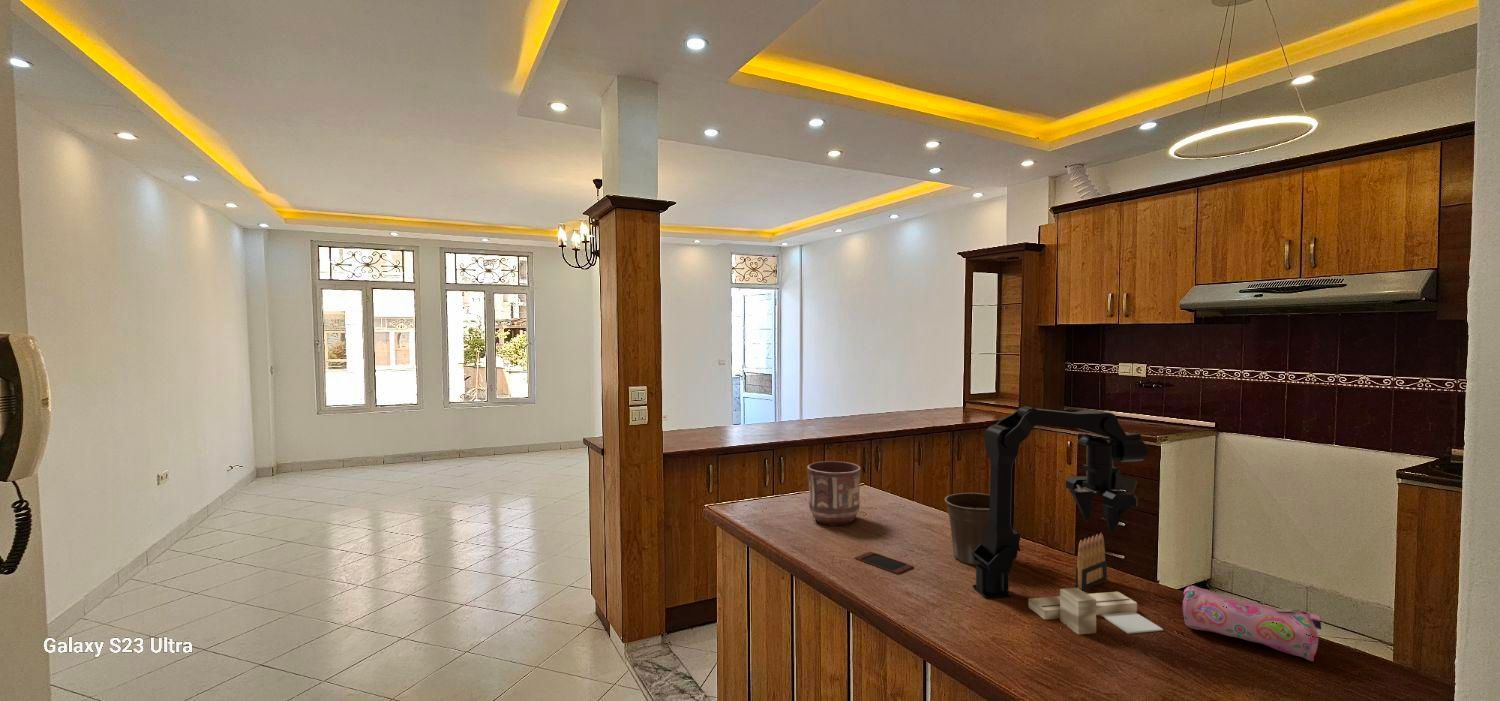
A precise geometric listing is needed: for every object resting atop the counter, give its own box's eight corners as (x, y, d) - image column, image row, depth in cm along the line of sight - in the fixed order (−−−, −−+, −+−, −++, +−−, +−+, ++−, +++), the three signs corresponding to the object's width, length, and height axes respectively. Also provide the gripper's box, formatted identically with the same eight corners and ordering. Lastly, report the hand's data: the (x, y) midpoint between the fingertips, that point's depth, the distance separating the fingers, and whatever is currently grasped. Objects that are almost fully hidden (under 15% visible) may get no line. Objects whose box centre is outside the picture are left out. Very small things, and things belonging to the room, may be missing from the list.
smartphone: (897, 572, 161) (853, 557, 172) (898, 576, 161) (853, 560, 172) (914, 565, 165) (870, 550, 177) (914, 569, 165) (870, 554, 177)
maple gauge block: (1078, 634, 129) (1078, 601, 128) (1060, 621, 135) (1060, 589, 134) (1096, 632, 129) (1096, 599, 129) (1077, 619, 135) (1077, 587, 135)
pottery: (805, 527, 200) (804, 471, 199) (809, 511, 217) (808, 460, 217) (861, 530, 197) (861, 473, 196) (860, 513, 214) (860, 461, 214)
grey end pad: (1127, 633, 128) (1127, 632, 128) (1101, 615, 136) (1101, 614, 136) (1163, 630, 129) (1163, 629, 129) (1134, 613, 137) (1134, 611, 137)
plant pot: (942, 565, 167) (942, 505, 166) (947, 545, 182) (947, 490, 181) (1008, 573, 161) (1008, 511, 160) (1008, 551, 176) (1007, 495, 175)
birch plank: (1044, 619, 135) (1044, 610, 135) (1028, 607, 141) (1028, 598, 141) (1137, 611, 138) (1137, 602, 138) (1117, 600, 144) (1117, 591, 144)
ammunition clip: (1082, 591, 149) (1082, 541, 149) (1075, 588, 151) (1075, 539, 150) (1107, 580, 155) (1107, 532, 155) (1099, 578, 157) (1099, 530, 156)
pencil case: (1321, 651, 121) (1321, 605, 120) (1319, 671, 114) (1320, 622, 114) (1187, 617, 135) (1187, 576, 135) (1179, 632, 129) (1179, 589, 128)
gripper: (1159, 469, 143) (1158, 537, 144) (1105, 453, 162) (1104, 513, 162) (1114, 471, 142) (1113, 539, 142) (1064, 455, 160) (1064, 515, 161)
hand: (1099, 526), depth 152 cm, fingers open, 9 cm apart
